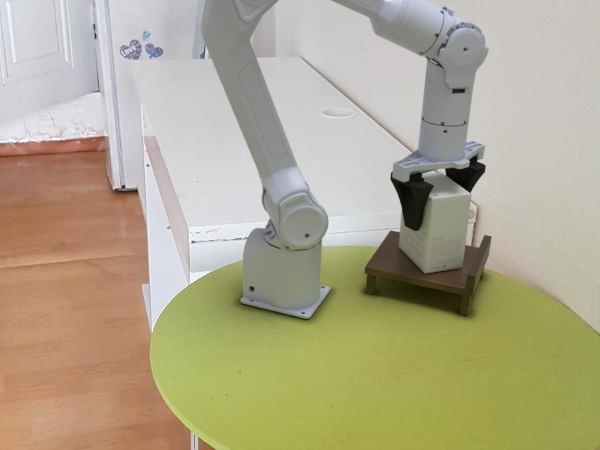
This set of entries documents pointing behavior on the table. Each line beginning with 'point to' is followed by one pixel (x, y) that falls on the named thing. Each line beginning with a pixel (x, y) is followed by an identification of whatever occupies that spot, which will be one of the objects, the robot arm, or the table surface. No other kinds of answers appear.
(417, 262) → the small box
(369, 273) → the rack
